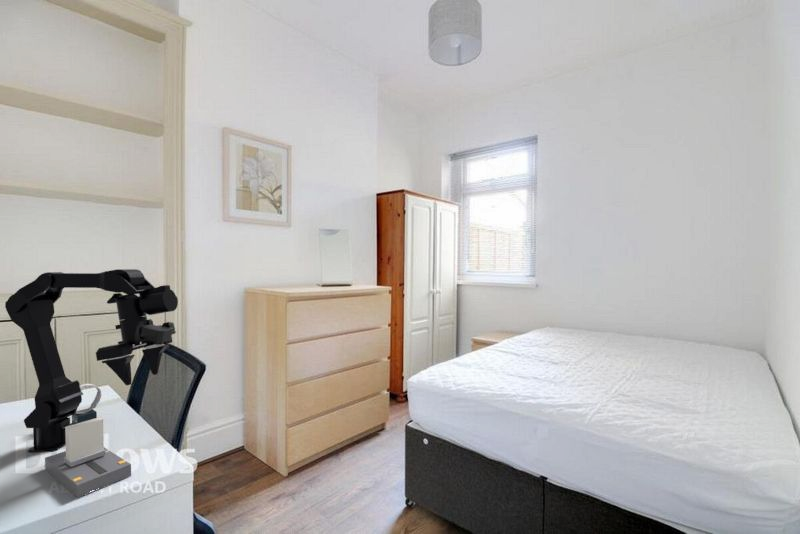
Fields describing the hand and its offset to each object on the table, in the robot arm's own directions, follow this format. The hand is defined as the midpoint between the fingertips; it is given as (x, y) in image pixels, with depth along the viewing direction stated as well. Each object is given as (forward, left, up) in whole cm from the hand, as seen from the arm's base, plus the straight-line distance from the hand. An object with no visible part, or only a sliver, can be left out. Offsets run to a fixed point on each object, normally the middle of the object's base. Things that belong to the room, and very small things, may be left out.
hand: (142, 379), depth 93 cm
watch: (-25, +17, -17) cm, 35 cm away
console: (-5, -12, -17) cm, 21 cm away
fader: (-6, -11, -14) cm, 19 cm away
